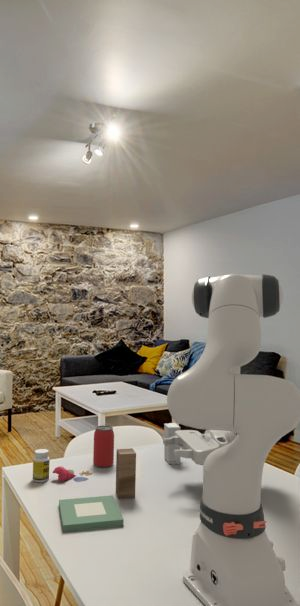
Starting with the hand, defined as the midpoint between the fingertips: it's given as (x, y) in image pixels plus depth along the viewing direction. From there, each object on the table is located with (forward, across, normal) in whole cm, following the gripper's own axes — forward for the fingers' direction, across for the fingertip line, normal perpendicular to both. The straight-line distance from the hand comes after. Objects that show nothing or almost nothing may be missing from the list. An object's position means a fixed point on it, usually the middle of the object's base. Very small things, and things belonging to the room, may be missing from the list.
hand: (168, 447), depth 129 cm
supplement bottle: (+34, -15, +12) cm, 40 cm away
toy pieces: (+24, -16, +13) cm, 32 cm away
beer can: (+14, -24, +13) cm, 31 cm away
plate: (+23, +11, +12) cm, 28 cm away
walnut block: (+12, +1, +12) cm, 17 cm away
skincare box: (-9, -23, +13) cm, 28 cm away
